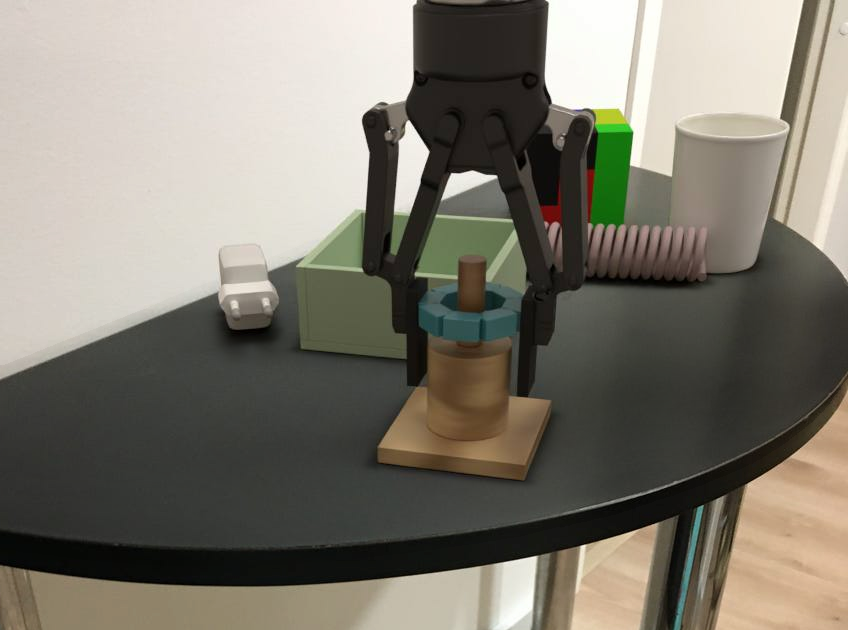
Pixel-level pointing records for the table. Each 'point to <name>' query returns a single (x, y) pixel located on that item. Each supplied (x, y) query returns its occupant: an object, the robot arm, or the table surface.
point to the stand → (467, 403)
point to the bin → (371, 295)
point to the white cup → (726, 182)
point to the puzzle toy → (603, 170)
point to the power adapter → (246, 287)
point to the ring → (470, 314)
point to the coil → (639, 251)
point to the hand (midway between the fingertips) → (470, 382)
